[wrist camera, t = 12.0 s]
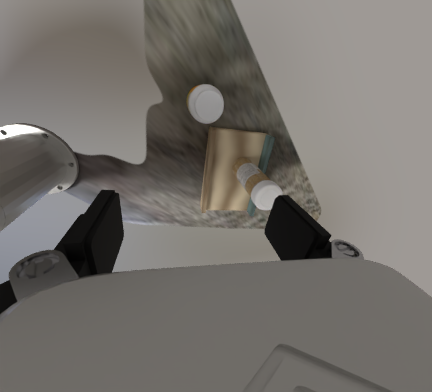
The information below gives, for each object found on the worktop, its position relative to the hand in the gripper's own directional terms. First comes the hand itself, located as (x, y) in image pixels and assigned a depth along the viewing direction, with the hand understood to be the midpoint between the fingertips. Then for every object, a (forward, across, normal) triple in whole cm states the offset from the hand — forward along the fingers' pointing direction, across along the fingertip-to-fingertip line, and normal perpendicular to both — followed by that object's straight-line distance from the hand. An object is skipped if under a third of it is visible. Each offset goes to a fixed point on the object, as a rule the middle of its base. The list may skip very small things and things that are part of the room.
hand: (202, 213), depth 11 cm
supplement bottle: (+28, -3, -5) cm, 29 cm away
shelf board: (+28, -11, +8) cm, 31 cm away
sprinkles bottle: (+26, -13, +6) cm, 30 cm away
